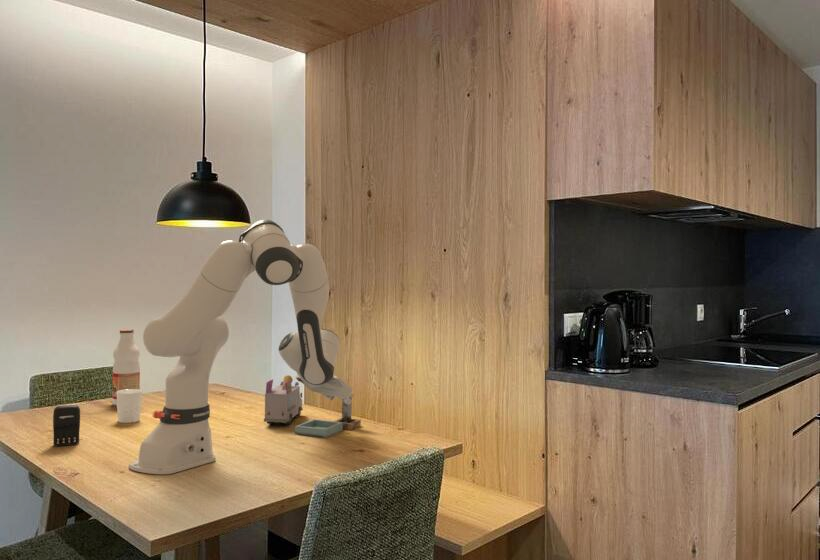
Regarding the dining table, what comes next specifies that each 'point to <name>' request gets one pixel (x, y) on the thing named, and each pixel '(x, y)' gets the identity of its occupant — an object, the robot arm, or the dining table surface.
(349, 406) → the pin
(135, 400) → the white cup
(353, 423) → the collar
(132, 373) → the fruit juice
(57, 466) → the dining table surface
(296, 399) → the toy vehicle
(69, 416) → the battery charger
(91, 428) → the dining table surface
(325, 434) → the tray
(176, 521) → the dining table surface
